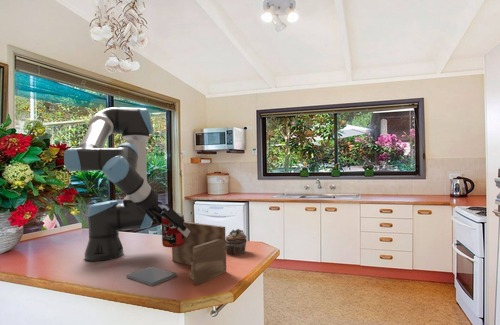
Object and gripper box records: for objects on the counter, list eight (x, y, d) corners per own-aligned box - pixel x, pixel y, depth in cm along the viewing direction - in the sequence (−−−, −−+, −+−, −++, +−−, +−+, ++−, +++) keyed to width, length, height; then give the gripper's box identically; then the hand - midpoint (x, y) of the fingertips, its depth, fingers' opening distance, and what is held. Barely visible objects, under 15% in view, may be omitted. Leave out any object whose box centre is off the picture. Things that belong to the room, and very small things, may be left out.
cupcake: (238, 248, 141) (237, 226, 141) (251, 253, 133) (250, 229, 133) (220, 252, 135) (219, 229, 135) (232, 257, 127) (231, 233, 127)
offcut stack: (189, 278, 105) (189, 263, 105) (207, 270, 112) (207, 256, 112) (198, 280, 102) (197, 265, 102) (216, 272, 110) (216, 258, 110)
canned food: (157, 245, 113) (157, 215, 113) (174, 240, 120) (173, 212, 120) (172, 248, 109) (171, 217, 109) (188, 243, 116) (188, 214, 116)
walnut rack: (144, 270, 114) (143, 226, 114) (175, 259, 126) (174, 220, 126) (196, 285, 98) (195, 235, 98) (226, 271, 110) (225, 226, 110)
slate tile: (126, 277, 107) (126, 274, 107) (150, 269, 115) (150, 266, 115) (152, 286, 99) (151, 282, 99) (176, 276, 107) (176, 273, 107)
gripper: (118, 201, 108) (157, 237, 121) (155, 205, 96) (194, 245, 109) (131, 185, 112) (167, 221, 125) (168, 187, 100) (204, 227, 113)
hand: (180, 232), depth 117 cm, fingers closed on canned food, 8 cm apart
